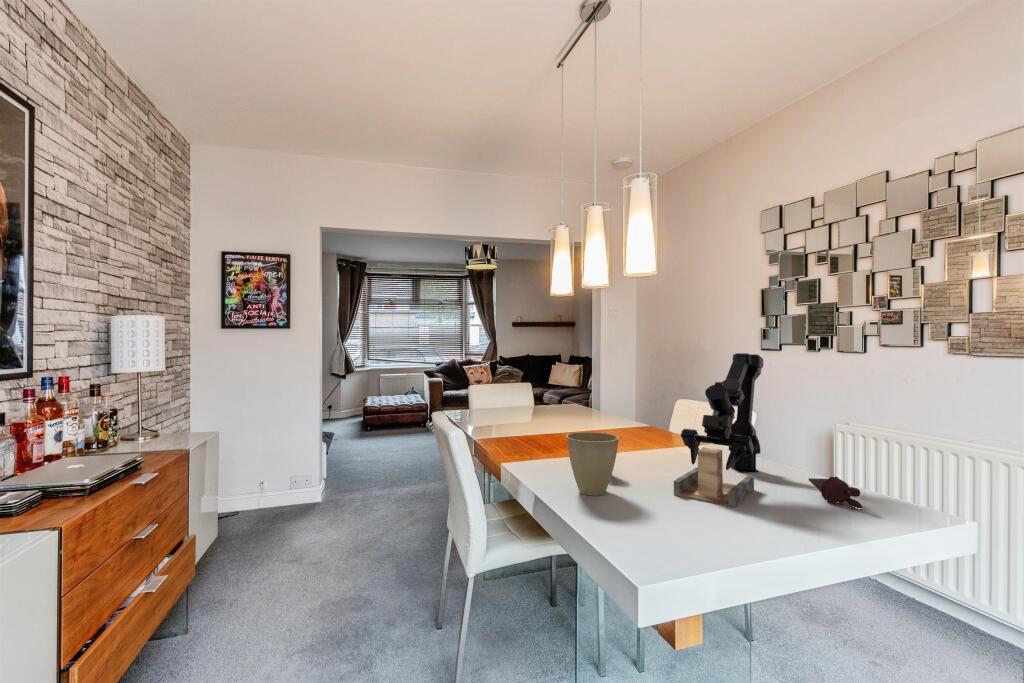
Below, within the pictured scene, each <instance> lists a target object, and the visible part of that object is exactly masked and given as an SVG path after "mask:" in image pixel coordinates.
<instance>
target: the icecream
mask: <svg viewBox="0 0 1024 683" xmlns="http://www.w3.org/2000/svg"><path fill="white" fill-rule="evenodd" d="M808 481H809V483H811V484H812V485H813V486H814V487H815V488H816V489H817V490H818V491H819V492H820V493H821V497H822V498H824V501H826V500H830V501H829V502H832V503H835V502H839V503H838V504H842V503H845V502H846V503H847V504H848V506H850V505H851V506H854V507H857V508H862V509H863V505H862V503H860V502H859V501H858V500H856V499H854V498H855V497H860V496H861V490H860V489H859V488H857V487H852V486H849V484H848V483H847V482H846V481H844V480H842V479H841V478H839V476H829V477H828V478H812V477H811V478H810V477H809V478H808ZM852 497H854V498H852ZM851 506H850V507H851Z"/></svg>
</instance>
